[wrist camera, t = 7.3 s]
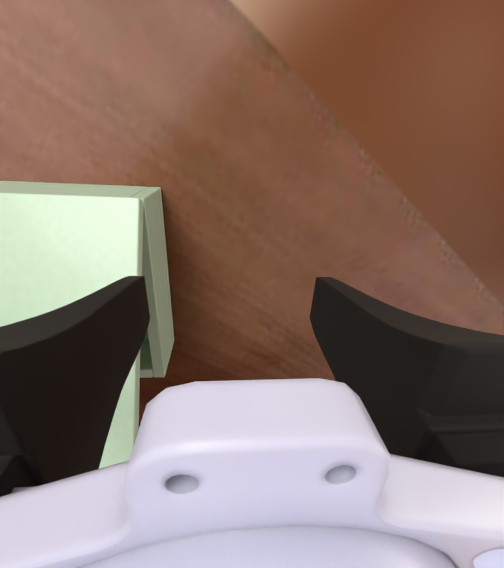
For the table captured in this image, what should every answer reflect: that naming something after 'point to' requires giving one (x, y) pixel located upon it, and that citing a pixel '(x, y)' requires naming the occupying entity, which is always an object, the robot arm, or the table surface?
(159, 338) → the green lidded box
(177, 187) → the table surface
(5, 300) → the lid
